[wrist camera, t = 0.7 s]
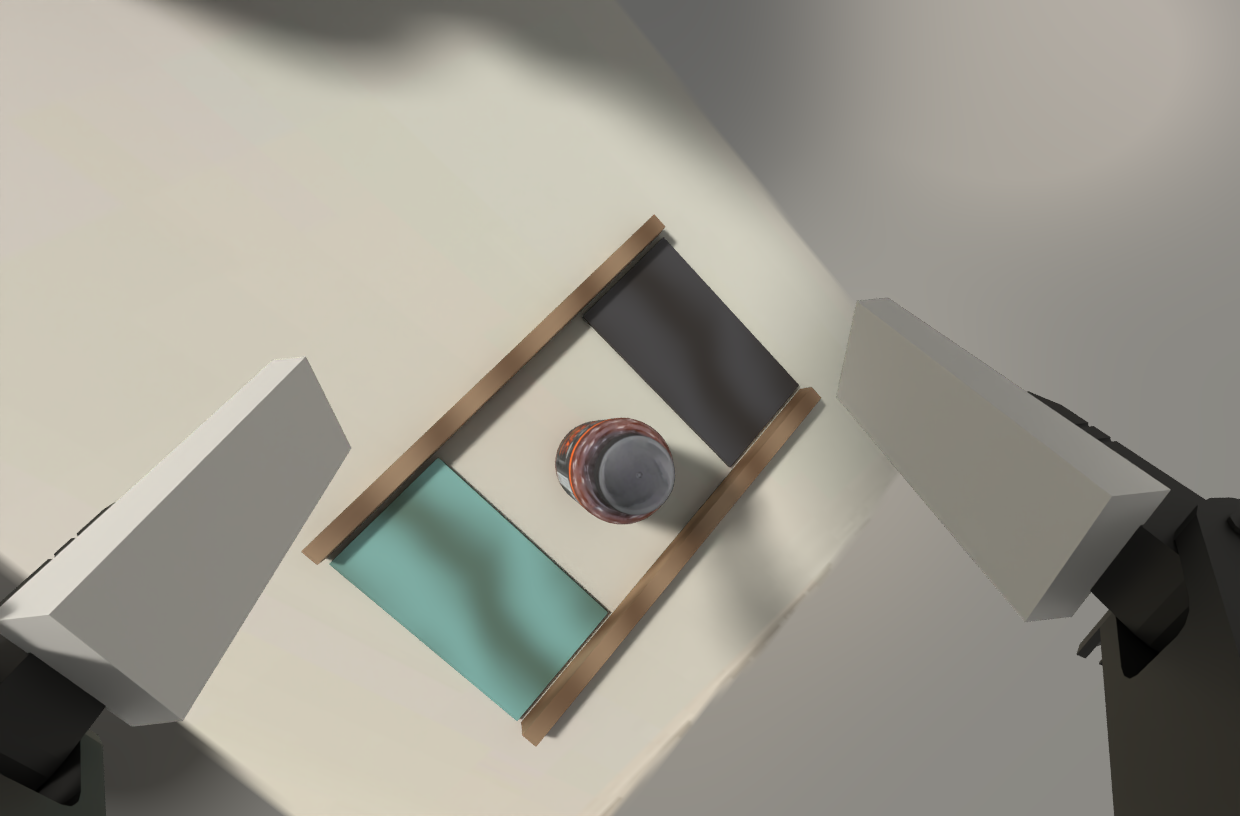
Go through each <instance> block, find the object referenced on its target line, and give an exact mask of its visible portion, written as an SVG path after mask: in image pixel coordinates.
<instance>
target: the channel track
mask: <svg viewBox="0 0 1240 816" xmlns="http://www.w3.org/2000/svg"><path fill="white" fill-rule="evenodd" d="M664 228H665V226H664V225H663V224H662V222H661V221H660V220H659V219H658V218H657V217H656V216H655V215H653V216H652V217H651V218H650V219H649V220H648V221H647V222H646V223H645V224H644V225H643V226H642V227H640V228H639V229H638V230H637V231H636V232H635V233H634V234H633V235H632V236H631V237H630V238H629V239H628V240H627V241H626V242H625V243H624V244H623V245H622V246H621V247H620V248H618V249H617V250H616V251H615V252H614V253H613V254H612V255H611V256H610V257H609V258H608V259H607V260H606V261H605V262H604V263H603V264H602V265H601V266H600V267H599V268H598V269H596V270H595V271H594V272H593V273H592V274H591V275H590V276H589V277H588V278H587V279H586V280H585V281H584V282H583V283H582V284H581V285H580V286H579V287H578V288H577V289H576V290H575V291H573V292H572V293H571V294H570V295H569V296H568V297H567V298H566V299H565V300H564V301H563V302H562V303H561V304H560V305H559V306H558V307H557V308H556V309H555V310H554V311H553V312H551V313H550V314H549V315H548V316H547V317H546V318H545V319H544V320H543V321H542V322H541V323H540V324H539V325H538V326H537V327H536V328H535V329H534V330H533V331H532V332H531V333H529V334H528V335H527V336H526V337H525V338H524V339H523V340H522V341H521V342H520V343H519V344H518V345H517V346H516V347H515V348H514V349H513V350H512V351H511V352H510V353H509V354H508V355H506V356H505V357H504V358H503V359H502V360H501V361H500V362H499V363H498V364H497V365H496V366H495V367H494V368H493V369H492V370H491V371H490V372H489V373H488V374H487V375H486V376H484V377H483V378H482V379H481V380H480V381H479V382H478V383H477V384H476V385H475V386H474V387H473V388H472V389H471V390H470V391H469V392H468V393H467V394H466V395H465V396H464V397H462V398H461V399H460V400H459V401H458V402H457V403H456V404H455V405H454V406H453V407H452V408H451V409H450V410H449V411H448V412H447V413H446V414H445V415H444V416H443V417H442V418H441V419H439V420H438V421H437V422H436V423H435V424H434V425H433V426H432V427H431V428H430V429H429V430H428V431H427V432H426V433H425V434H424V435H423V436H422V437H421V438H420V439H419V440H417V441H416V442H415V443H414V444H413V445H412V446H411V447H410V448H409V449H408V450H407V451H406V452H405V453H404V454H403V455H402V456H401V457H400V458H399V459H398V460H397V461H395V462H394V463H393V464H392V465H391V466H390V467H389V468H388V469H387V470H386V471H385V472H384V473H383V474H382V475H381V476H380V477H379V478H378V479H377V480H376V481H375V482H374V483H372V484H371V485H370V486H369V487H368V488H367V489H366V490H365V491H364V492H363V493H362V494H361V495H360V496H359V497H358V498H357V499H356V500H355V501H354V502H353V503H352V504H350V505H349V506H348V507H347V508H346V509H345V510H344V511H343V512H342V513H341V514H340V515H339V516H338V517H337V518H336V519H335V520H334V521H333V522H332V523H331V524H330V525H328V526H327V527H326V528H325V529H324V530H323V531H322V532H321V533H320V534H319V535H318V536H317V537H316V538H315V539H314V540H313V541H312V542H311V543H310V544H309V545H308V546H307V547H305V548H304V549H303V550H302V551H301V552H302V553H303V554H305V555H306V556H307V557H308V558H309V559H311V560H312V561H313V562H314V563H315V564H317V565H318V564H319V563H320V562H322V561H323V560H325V559H326V558H327V557H328V556H329V555H330V554H331V553H332V552H333V551H334V550H335V549H336V548H337V547H338V546H339V545H340V544H341V543H342V542H343V541H344V540H345V539H346V538H348V537H349V536H350V535H351V534H352V533H353V532H354V531H355V530H356V529H357V528H358V527H359V526H360V525H361V524H362V523H363V522H364V521H365V520H366V519H367V518H368V517H369V516H370V515H371V514H372V513H373V512H374V511H375V510H376V509H377V508H378V507H379V506H380V505H381V504H382V503H384V502H385V501H386V500H387V499H388V498H389V497H390V496H391V495H392V494H393V493H394V492H395V491H396V490H397V489H398V488H399V487H400V486H401V485H402V484H403V483H404V482H405V481H406V480H407V479H408V478H409V477H410V476H411V475H412V474H413V473H414V472H415V471H416V470H417V469H418V468H420V467H421V466H422V465H423V464H424V463H425V462H426V461H427V460H428V459H429V458H430V457H431V456H432V455H433V454H434V453H435V452H436V451H437V450H438V449H439V448H440V447H441V446H442V445H443V444H444V443H445V442H446V441H447V440H448V439H449V438H450V437H451V436H452V435H453V434H454V433H455V432H457V431H458V430H459V429H460V428H461V427H462V426H463V425H464V424H465V423H466V422H467V421H468V420H469V419H470V418H471V417H472V416H473V415H474V414H475V413H476V412H477V411H478V410H479V409H480V408H481V407H482V406H483V405H484V404H485V403H486V402H487V401H488V400H489V399H490V398H491V397H493V396H494V395H495V394H496V393H497V392H498V391H499V390H500V389H501V388H502V387H503V386H504V385H505V384H506V383H507V382H508V381H509V380H510V379H511V378H512V377H513V376H514V375H515V374H516V373H517V372H518V371H519V370H520V369H521V368H522V367H523V366H524V365H525V364H526V363H527V362H529V361H530V360H531V359H532V358H533V357H534V356H535V355H536V354H537V353H538V352H539V351H540V350H541V349H542V348H543V347H544V346H545V345H546V344H547V343H548V342H549V341H550V340H551V339H552V338H553V337H554V336H555V335H556V334H557V333H558V332H559V331H560V330H561V329H562V328H563V327H565V326H566V325H567V324H568V323H569V322H570V321H571V320H572V319H573V318H574V317H575V316H576V315H577V314H578V313H579V312H580V311H581V310H582V309H583V308H584V307H585V306H586V305H587V304H588V303H589V302H590V301H591V300H592V299H593V298H594V297H595V296H596V295H597V294H598V293H599V292H600V291H602V290H603V289H604V288H605V287H606V286H607V285H608V284H609V283H610V282H611V281H612V280H613V279H614V278H615V277H616V276H617V275H618V274H619V273H620V272H621V271H622V270H623V269H624V268H625V267H626V266H627V265H628V264H629V263H630V262H631V261H632V260H633V259H634V258H635V257H636V256H638V255H639V254H640V253H641V252H642V251H643V250H644V249H645V248H646V247H647V246H648V245H649V244H650V243H651V242H652V241H653V240H654V239H655V238H656V237H657V236H658V235H659V234H660V233H661V231H662V230H663V229H664ZM583 318H584V319H585V320H586V321H587V322H588V323H589V324H590V325H591V326H592V327H593V329H594V330H595V331H596V332H597V333H598V334H599V335H600V336H601V337H602V338H603V339H604V340H605V341H606V342H607V343H608V344H609V345H610V346H611V347H612V348H613V349H614V350H615V351H616V352H617V353H618V354H619V355H620V356H621V357H622V358H623V359H624V360H625V361H626V362H627V363H628V364H629V365H630V366H631V367H632V368H633V369H634V370H635V371H636V372H637V374H638V375H639V376H640V377H641V378H642V379H643V380H644V381H645V382H646V383H647V384H648V385H649V386H650V387H651V388H652V389H653V390H654V391H655V392H656V393H657V394H658V395H659V396H660V397H661V398H662V399H663V400H664V401H665V402H666V403H667V404H668V405H669V406H670V407H671V408H672V409H673V410H674V411H675V412H676V413H677V414H678V415H679V416H680V418H681V419H682V420H683V421H684V422H685V423H686V424H687V425H688V426H689V427H690V428H691V429H692V430H693V431H694V432H695V433H696V434H697V435H698V436H699V437H700V438H701V439H702V440H703V441H704V442H705V443H706V444H707V445H708V446H709V447H710V448H711V449H712V450H713V451H714V452H715V453H716V454H717V455H718V456H719V457H720V458H721V459H722V460H723V461H724V463H725V464H726V465H727V466H728V467H731V466H732V464H733V463H734V462H735V461H736V460H737V458H738V457H739V456H740V455H741V454H742V453H743V451H744V450H745V449H746V448H747V447H748V445H749V444H750V443H751V442H752V441H753V439H754V438H755V437H756V436H757V435H758V433H759V432H760V431H761V430H762V429H763V427H764V426H765V425H766V424H767V423H768V422H769V420H770V419H771V418H772V417H773V416H774V414H775V413H776V412H777V411H778V410H779V408H780V407H781V406H782V405H783V404H784V402H785V401H786V400H787V399H788V398H789V396H790V395H791V394H792V393H793V392H794V390H795V389H796V388H797V387H798V386H799V385H798V383H797V382H796V381H795V380H794V379H793V378H792V377H791V376H790V375H789V374H788V373H787V371H786V370H785V369H784V368H783V367H782V366H781V365H780V364H779V363H778V362H777V361H776V359H775V358H774V357H773V356H772V355H771V354H770V353H769V352H768V351H767V350H766V349H765V347H764V346H763V345H762V344H761V343H760V342H759V341H758V340H757V339H756V338H755V336H754V335H753V334H752V333H751V332H750V331H749V330H748V329H747V328H746V327H745V326H744V324H743V323H742V322H741V321H740V320H739V319H738V318H737V317H736V316H735V315H734V314H733V312H732V311H731V310H730V309H729V308H728V307H727V306H726V305H725V304H724V303H723V302H722V300H721V299H720V298H719V297H718V296H717V295H716V294H715V293H714V292H713V291H712V290H711V288H710V287H709V286H708V285H707V284H706V283H705V282H704V281H703V280H702V279H701V278H700V276H699V275H698V274H697V273H696V272H695V271H694V270H693V269H692V268H691V267H690V266H689V264H688V263H687V262H686V261H685V260H684V259H683V258H682V257H681V256H680V255H679V254H678V252H677V251H676V250H675V249H674V248H673V247H672V246H671V245H670V244H669V243H668V241H667V240H666V239H665V238H664V237H663V238H662V239H661V240H660V241H659V242H658V243H657V244H656V245H655V246H654V247H653V248H652V249H651V250H650V251H649V252H648V253H647V254H646V255H645V256H644V257H643V258H642V259H641V260H640V261H639V262H638V263H637V264H636V265H635V266H634V267H633V268H632V269H631V270H630V271H629V272H628V273H626V274H625V275H624V276H623V277H622V278H621V279H620V280H619V281H618V282H617V283H616V284H615V285H614V286H613V287H612V288H611V289H610V290H609V291H608V292H607V293H606V294H605V295H604V296H603V297H602V298H601V299H600V300H599V301H598V302H597V303H596V304H595V305H594V306H593V307H592V308H591V309H590V310H589V311H588V312H587V313H586V314H585V315H584V316H583ZM820 399H821V397H820V396H819V395H818V394H817V392H816V391H815V390H814V389H813V388H812V387H809V388H803V389H799V391H798V392H797V393H796V394H795V395H794V397H793V398H792V399H791V400H790V401H789V403H788V404H787V405H786V406H785V407H784V409H783V410H782V411H781V412H780V413H779V415H778V416H777V417H776V418H775V419H774V421H773V422H772V423H771V424H770V425H769V427H768V428H767V429H766V430H765V431H764V433H763V434H762V435H761V436H760V437H759V439H758V440H757V441H756V442H755V443H754V444H753V446H752V447H751V448H750V449H749V450H748V452H747V453H746V454H745V455H744V456H743V458H742V459H741V460H740V461H739V462H738V464H737V465H736V466H735V467H734V468H733V470H732V471H731V472H730V473H729V474H728V476H727V477H726V478H725V479H724V480H723V482H722V483H721V484H720V485H719V486H718V488H717V489H716V490H715V491H714V492H713V494H712V495H711V496H710V497H709V498H708V500H707V501H706V502H705V503H704V504H703V506H702V507H701V508H700V509H699V510H698V511H697V513H696V514H695V515H694V516H693V517H692V519H691V520H690V521H689V522H688V523H687V525H686V526H685V527H684V528H683V529H682V531H681V532H680V533H679V534H678V535H677V537H676V538H675V539H674V540H673V541H672V543H671V544H670V545H669V546H668V547H667V549H666V550H665V551H664V552H663V553H662V555H661V556H660V557H659V558H658V559H657V561H656V562H655V563H654V564H653V565H652V567H651V568H650V569H649V570H648V571H647V572H646V574H645V575H644V576H643V577H642V578H641V580H640V581H639V582H638V583H637V584H636V586H635V587H634V588H633V589H632V590H631V592H630V593H629V594H628V595H627V596H626V598H625V599H624V600H623V601H622V602H621V604H620V605H619V606H618V607H617V608H616V610H615V611H614V612H613V613H612V614H611V616H610V617H609V618H608V619H607V620H606V622H605V623H604V624H603V625H602V626H601V628H600V629H599V630H598V631H597V632H596V633H595V635H594V636H593V637H592V638H591V639H590V641H589V642H588V643H587V644H586V645H585V647H584V648H583V649H582V650H581V651H580V653H579V654H578V655H577V656H576V657H575V659H574V660H573V661H572V662H571V663H570V665H569V666H568V667H567V668H566V669H565V671H564V672H563V673H562V674H561V675H560V677H559V678H558V679H557V680H556V681H555V683H554V684H553V685H552V686H551V687H550V689H549V690H548V691H547V692H546V693H545V694H544V696H543V697H542V698H541V699H540V700H539V702H538V703H537V704H536V705H535V706H534V708H533V709H532V710H531V711H530V712H529V714H528V715H527V716H526V717H525V718H524V720H523V721H522V722H521V725H522V735H523V736H524V737H525V738H526V739H527V740H528V741H530V742H531V743H532V744H533V745H534V746H537V745H538V744H539V743H540V741H541V740H542V739H543V738H544V736H545V735H546V734H547V733H548V732H549V730H550V729H551V728H552V727H553V725H554V724H555V723H556V722H557V721H558V719H559V718H560V717H561V716H562V714H563V713H564V712H565V711H566V710H567V708H568V707H569V706H570V705H571V703H572V702H573V701H574V700H575V699H576V697H577V696H578V695H579V694H580V692H581V691H582V690H583V689H584V688H585V686H586V685H587V684H588V683H589V681H590V680H591V679H592V678H593V677H594V675H595V674H596V673H597V672H598V670H599V669H600V668H601V667H602V665H603V664H604V663H605V662H606V661H607V659H608V658H609V657H610V656H611V654H612V653H613V652H614V651H615V650H616V648H617V647H618V646H619V645H620V643H621V642H622V641H623V640H624V639H625V637H626V636H627V635H628V634H629V632H630V631H631V630H632V629H633V628H634V626H635V625H636V624H637V623H638V621H639V620H640V619H641V618H642V617H643V615H644V614H645V613H646V612H647V610H648V609H649V608H650V607H651V606H652V604H653V603H654V602H655V601H656V599H657V598H658V597H659V596H660V595H661V593H662V592H663V591H664V590H665V588H666V587H667V586H668V585H669V584H670V582H671V581H672V580H673V579H674V577H675V576H676V575H677V574H678V573H679V571H680V570H681V569H682V568H683V566H684V565H685V564H686V563H687V562H688V560H689V559H690V558H691V557H692V555H693V554H694V553H695V552H696V551H697V549H698V548H699V547H700V546H701V544H702V543H703V542H704V541H705V540H706V538H707V537H708V536H709V535H710V533H711V532H712V531H713V530H714V529H715V527H716V526H717V525H718V524H719V522H720V521H721V520H722V519H723V518H724V516H725V515H726V514H727V513H728V511H729V510H730V509H731V508H732V506H733V505H734V504H735V503H736V502H737V500H738V499H739V498H740V497H741V495H742V494H743V493H744V492H745V491H746V489H747V488H748V487H749V486H750V484H751V483H752V482H753V481H754V480H755V478H756V477H757V476H758V475H759V473H760V472H761V471H762V470H763V469H764V467H765V466H766V465H767V464H768V462H769V461H770V460H771V459H772V458H773V456H774V455H775V454H776V453H777V451H778V450H779V449H780V448H781V447H782V445H783V444H784V443H785V442H786V440H787V439H788V438H789V437H790V436H791V434H792V433H793V432H794V431H795V429H796V428H797V427H798V426H799V425H800V423H801V422H802V421H803V420H804V418H805V417H806V416H807V415H808V414H809V412H810V411H811V410H812V409H813V407H814V406H815V405H816V404H817V403H818V401H819V400H820ZM329 565H331V566H332V567H333V568H334V569H335V570H337V571H338V572H339V573H340V574H341V575H343V576H344V577H345V578H346V579H347V580H349V581H350V582H351V583H352V584H353V585H355V586H356V587H357V588H358V589H359V590H361V591H362V592H363V593H364V594H365V595H367V596H368V597H369V598H370V599H371V600H373V601H374V602H375V603H376V604H377V605H379V606H380V607H381V608H382V609H383V610H385V611H386V612H387V613H388V614H389V615H391V616H392V617H393V618H394V619H395V620H397V621H398V622H399V623H400V624H401V625H403V626H404V627H405V628H406V629H407V630H409V631H410V632H411V633H412V634H413V635H414V636H416V637H417V638H418V639H419V640H420V641H422V642H423V643H424V644H425V645H426V646H428V647H429V648H430V649H431V650H432V651H434V652H435V653H436V654H437V655H438V656H440V657H441V658H442V659H443V660H444V661H446V662H447V663H448V664H449V665H450V666H452V667H453V668H454V669H455V670H456V671H458V672H459V673H460V674H461V675H462V676H464V677H465V678H466V679H467V680H468V681H470V682H471V683H472V684H473V685H474V686H476V687H477V688H478V689H479V690H480V691H482V692H483V693H484V694H485V695H486V696H488V697H489V698H490V699H491V700H492V701H494V702H495V703H496V704H497V705H498V706H500V707H501V708H502V709H503V710H504V711H506V712H507V713H508V714H509V715H510V716H512V717H513V718H514V719H515V720H516V721H518V720H519V718H520V717H521V716H522V715H523V714H524V712H525V711H526V710H527V709H528V708H529V706H530V705H531V704H532V703H533V702H534V701H535V699H536V698H537V697H538V696H539V695H540V693H541V692H542V691H543V690H544V689H545V687H546V686H547V685H548V684H549V683H550V681H551V680H552V679H553V678H554V677H555V675H556V674H557V673H558V672H559V671H560V670H561V668H562V667H563V666H564V665H565V664H566V662H567V661H568V660H569V659H570V658H571V656H572V655H573V654H574V653H575V652H576V650H577V649H578V648H579V647H580V646H581V644H582V643H583V642H584V641H585V640H586V639H587V637H588V636H589V635H590V634H591V633H592V631H593V630H594V629H595V628H596V627H597V625H598V624H599V623H600V622H601V621H602V619H603V618H604V617H605V616H606V615H607V613H608V612H607V611H606V610H605V609H604V608H603V607H602V606H601V605H600V604H598V603H597V602H596V601H595V600H594V599H593V598H592V597H591V596H590V595H589V594H588V593H586V592H585V591H584V590H583V589H582V588H581V587H580V586H579V585H578V584H577V583H575V582H574V581H573V580H572V579H571V578H570V577H569V576H568V575H567V574H566V573H564V572H563V571H562V570H561V569H560V568H559V567H558V566H557V565H556V564H555V563H554V562H552V561H551V560H550V559H549V558H548V557H547V556H546V555H545V554H544V553H543V552H541V551H540V550H539V549H538V548H537V547H536V546H535V545H534V544H533V543H532V542H530V541H529V540H528V539H527V538H526V537H525V536H524V535H523V534H522V533H521V532H519V531H518V530H517V529H516V528H515V527H514V526H513V525H512V524H511V523H510V522H509V521H507V520H506V519H505V518H504V517H503V516H502V515H501V514H500V513H499V512H498V511H496V510H495V509H494V508H493V507H492V506H491V505H490V504H489V503H488V502H487V501H485V500H484V499H483V498H482V497H481V496H480V495H479V494H478V493H477V492H476V491H475V490H473V489H472V488H471V487H470V486H469V485H468V484H467V483H466V482H465V481H464V480H462V479H461V478H460V477H459V476H458V475H457V474H456V473H455V472H454V471H453V470H451V469H450V468H449V467H448V466H447V465H446V464H445V463H444V462H443V461H442V460H440V459H439V458H437V459H436V460H435V461H434V462H433V463H432V464H431V465H430V466H429V467H428V468H427V469H426V470H425V471H424V472H423V473H422V474H421V475H420V476H419V477H418V478H417V479H416V480H415V481H414V482H413V483H412V484H411V485H410V486H409V487H408V488H407V489H405V490H404V491H403V492H402V493H401V494H400V495H399V496H398V497H397V498H396V499H395V500H394V501H393V502H392V503H391V504H390V505H389V506H388V507H387V508H386V509H385V510H384V511H383V512H382V513H381V514H380V515H379V516H378V517H377V518H376V519H375V520H374V521H373V522H372V523H371V524H370V525H369V526H368V527H367V528H366V529H365V530H364V531H363V532H361V533H360V534H359V535H358V536H357V537H356V538H355V539H354V540H353V541H352V542H351V543H350V544H349V545H348V546H347V547H346V548H345V549H344V550H343V551H342V552H341V553H340V554H339V555H338V556H337V557H336V558H335V559H334V560H333V561H332V562H331V563H330V564H329Z"/></svg>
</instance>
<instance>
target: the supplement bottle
mask: <svg viewBox="0 0 1240 816" xmlns="http://www.w3.org/2000/svg"><path fill="white" fill-rule="evenodd" d="M555 468H556V474H557V477H558V479H559V482H560V484H561V485H562V487H563V489H564V490H565V491H566V492H567V494H569V495H570V496H571V497H572V498H573V499H574V500H575V501H577V502H578V503H579V504H580V505H581V506H582V507H584V508H585V509H586V510H587V511H588V512H590V513H591V514H592V515H594V516H595V517H597V518H599V519H601V520H603V521H606V522H609V523H614V524H631V523H635V522H638V521H641V520H643V519H645V518H647V517H649V516H651V515H652V514H653V513H654V512H656V511H657V510H658V509H659V508H660V507H661V505H662V504H663V503H664V502H665V501H666V500H667V498H668V497H669V495H670V494H671V492H672V489H673V485H674V480H675V469H674V464H673V459H672V455H671V452H670V450H669V447H668V445H667V444H666V442H665V440H664V439H663V437H662V436H661V435H660V434H659V433H658V432H657V431H656V430H654V429H653V428H652V427H650V426H648V425H647V424H645V423H643V422H640V421H637V420H634V419H630V418H614V419H607V420H599V421H592V422H587V423H584V424H582V425H579V426H578V427H575V428H574V429H573V430H571V431H570V432H569V433H568V434H567V435H566V436H565V438H564V439H563V440H562V442H561V444H560V446H559V448H558V450H557V454H556V459H555Z"/></svg>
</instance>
